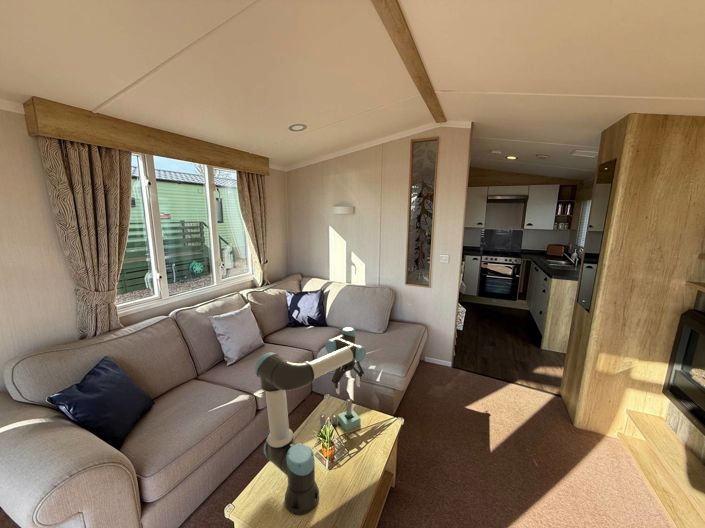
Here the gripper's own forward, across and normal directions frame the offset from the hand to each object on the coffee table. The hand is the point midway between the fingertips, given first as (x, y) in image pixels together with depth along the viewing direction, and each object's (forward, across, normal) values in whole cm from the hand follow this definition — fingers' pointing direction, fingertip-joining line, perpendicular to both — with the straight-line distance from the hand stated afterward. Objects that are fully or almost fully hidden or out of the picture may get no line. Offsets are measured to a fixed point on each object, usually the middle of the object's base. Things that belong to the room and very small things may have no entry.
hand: (348, 389), depth 174 cm
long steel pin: (+25, +3, +3) cm, 25 cm away
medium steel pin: (+25, -13, +7) cm, 29 cm away
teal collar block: (+25, +3, +3) cm, 25 cm away
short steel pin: (+25, -5, +8) cm, 27 cm away
